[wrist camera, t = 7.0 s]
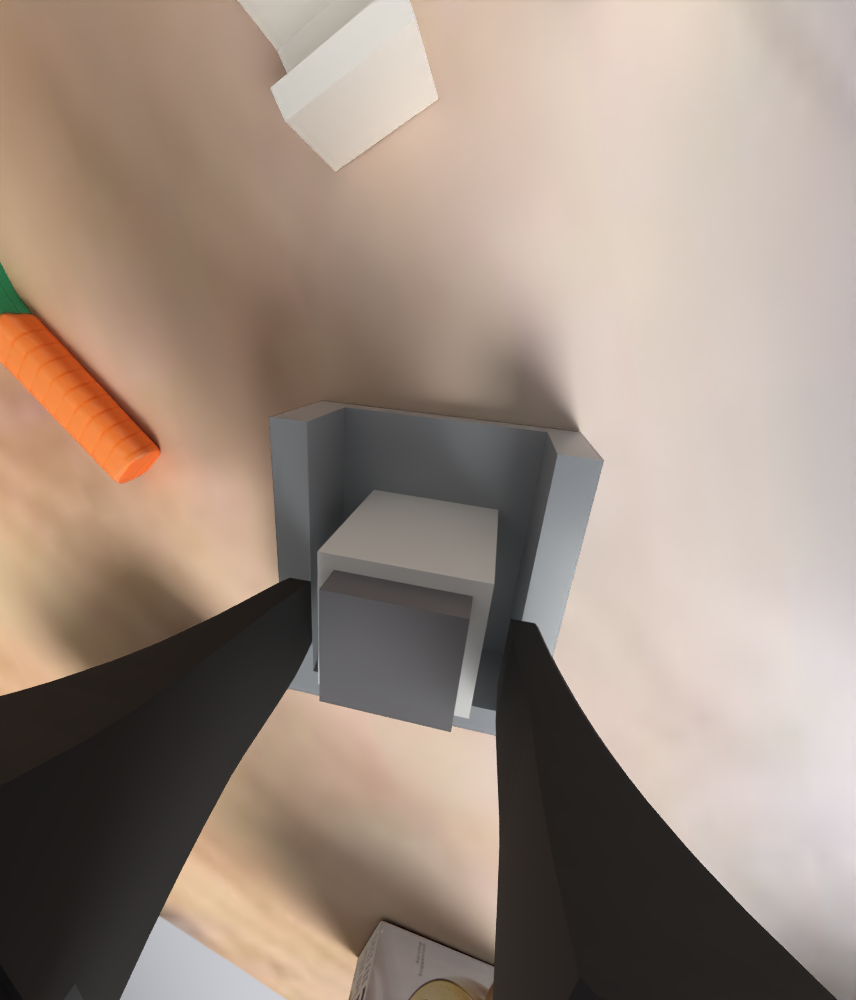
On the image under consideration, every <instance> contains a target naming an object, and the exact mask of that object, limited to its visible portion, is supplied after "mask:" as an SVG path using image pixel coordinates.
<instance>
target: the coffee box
mask: <svg viewBox="0 0 856 1000" xmlns="http://www.w3.org/2000/svg"><path fill="white" fill-rule="evenodd" d="M493 981H494V966H491V965H489V964H487V963H484V962H482V961H479V960H477V959H474V958H472V957H469V956H467V955H465V954H462V953H460V952H457V951H455V950H452V949H450V948H448V947H445V946H443V945H440V944H438V943H436V942H433V941H431V940H429V939H426V938H424V937H421V936H419V935H417V934H414V933H412V932H409V931H407V930H405V929H402V928H400V927H397V926H395V925H392V924H390V923H387V922H385V921H381V922H380V923H379V924H378V926H377V928H376V929H375V931H374V933H373V934H372V936H371V937H370V939H369V941H368V942H367V944H366V946H365V947H364V949H363V951H362V952H361V954H360V956H359V958H358V960H357V965H356V970H355V974H354V979H353V983H352V987H351V992H350V996H349V1000H493Z"/></svg>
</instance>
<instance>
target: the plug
mask: <svg viewBox="0 0 856 1000" xmlns="http://www.w3.org/2000/svg"><path fill="white" fill-rule="evenodd" d="M497 527H498V510H497V509H491V508H484V507H478V506H472V505H466V504H460V503H453V502H447V501H441V500H435V499H428V498H422V497H416V496H410V495H404V494H397V493H391V492H385V491H379V490H373V491H372V492H371V493H370V495H369V496H368V497H367V498H366V499H365V500H364V501H363V502H362V503H361V504H360V505H359V507H358V508H357V509H356V510H355V511H354V512H353V513H352V514H351V515H350V516H349V518H348V519H347V520H346V521H345V522H344V523H343V524H342V525H341V526H340V527H339V528H338V530H337V531H336V532H335V533H334V534H333V535H332V536H331V537H330V538H329V539H328V540H327V542H326V543H325V544H324V545H323V546H322V547H321V548H320V549H319V550H318V551H317V565H318V684H319V696H320V701H322V702H326V703H331V704H335V705H339V706H343V707H347V708H352V709H356V710H360V711H364V712H368V713H373V714H377V715H381V716H385V717H389V718H394V719H398V720H402V721H406V722H411V723H415V724H419V725H423V726H427V727H432V728H436V729H440V730H444V731H448V732H451V728H452V722H453V716H454V715H455V716H459V717H463V718H467V719H469V715H470V710H471V705H472V699H473V694H474V689H475V684H476V678H477V673H478V668H479V663H480V657H481V652H482V647H483V641H484V636H485V631H486V626H487V620H488V615H489V610H490V605H491V599H492V594H493V589H494V582H495V564H496V545H497Z"/></svg>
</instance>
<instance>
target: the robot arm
mask: <svg viewBox="0 0 856 1000" xmlns="http://www.w3.org/2000/svg"><path fill="white" fill-rule="evenodd" d="M311 644H312V606H311V581H306V580H301V579H295V578H288V579H286V580H283V581H281V582H279V583H277V584H275V585H273V586H272V587H270V588H268V589H266V590H264V591H262V592H260V593H258V594H257V595H255V596H253V597H251V598H249V599H247V600H245V601H243V602H241V603H240V604H238V605H236V606H234V607H232V608H230V609H228V610H226V611H224V612H222V613H221V614H219V615H217V616H215V617H212V618H210V619H208V620H206V621H204V622H202V623H200V624H198V625H196V626H194V627H192V628H190V629H187V630H185V631H183V632H181V633H179V634H177V635H175V636H173V637H170V638H168V639H166V640H164V641H161V642H159V643H157V644H154V645H152V646H150V647H147V648H145V649H142V650H139V651H137V652H134V653H132V654H129V655H127V656H124V657H122V658H119V659H116V660H114V661H111V662H108V663H105V664H102V665H99V666H96V667H93V668H90V669H87V670H85V671H82V672H79V673H76V674H73V675H70V676H67V677H64V678H61V679H58V680H55V681H52V682H48V683H45V684H42V685H38V686H35V687H31V688H28V689H25V690H21V691H18V692H14V693H10V694H7V695H3V696H0V1000H120V998H121V995H122V993H123V991H124V989H125V987H126V985H127V982H128V980H129V978H130V975H131V974H132V971H133V969H134V967H135V965H136V963H137V961H138V959H139V957H140V954H141V952H142V950H143V948H144V946H145V943H146V941H147V939H148V937H149V935H150V933H151V931H152V929H153V927H154V925H155V923H156V921H157V918H158V917H159V915H160V912H161V910H162V908H163V906H164V904H165V902H166V900H167V898H168V896H169V894H170V892H171V890H172V888H173V886H174V884H175V882H176V880H177V878H178V876H179V874H180V872H181V870H182V868H183V866H184V864H185V862H186V860H187V858H188V856H189V854H190V852H191V850H192V848H193V846H194V844H195V843H196V841H197V839H198V837H199V835H200V833H201V831H202V829H203V827H204V825H205V823H206V821H207V819H208V817H209V816H210V814H211V812H212V810H213V808H214V806H215V805H216V803H217V801H218V799H219V797H220V795H221V793H222V792H223V790H224V788H225V786H226V784H227V782H228V781H229V779H230V777H231V775H232V773H233V772H234V770H235V769H236V767H237V765H238V764H239V762H240V760H241V759H242V757H243V755H244V754H245V752H246V751H247V749H248V748H249V746H250V745H251V743H252V742H253V740H254V739H255V737H256V736H257V734H258V733H259V731H260V730H261V728H262V727H263V725H264V724H265V722H266V721H267V719H268V718H269V716H270V715H271V713H272V712H273V710H274V709H275V707H276V706H277V704H278V703H279V701H280V699H281V698H282V696H283V695H284V693H285V692H286V690H287V689H288V687H289V686H290V684H291V682H292V681H293V679H294V678H295V676H296V674H297V672H298V670H299V668H300V666H301V664H302V662H303V661H304V658H305V656H306V654H307V652H308V650H309V648H310V646H311ZM495 723H496V751H497V776H498V800H499V871H498V896H497V919H496V940H495V962H494V981H493V1000H837V999H836V998H835V997H834V996H833V995H832V994H831V993H830V992H829V991H828V990H827V989H826V988H825V987H823V986H822V985H821V984H820V983H819V982H818V981H817V980H816V979H815V978H814V977H813V976H812V975H811V974H810V973H809V972H808V971H807V970H806V969H805V968H804V967H803V966H802V965H801V964H800V963H799V962H798V961H797V960H796V959H795V958H794V957H793V956H792V955H791V954H790V953H789V952H788V951H787V950H786V949H785V948H784V947H783V946H782V945H781V944H779V943H778V942H777V941H776V940H775V939H774V938H773V937H772V936H771V935H770V934H769V933H768V932H767V931H766V930H765V929H764V928H763V927H762V926H761V925H760V924H759V923H758V922H757V921H756V920H755V919H754V918H753V917H752V916H751V915H750V914H749V913H748V912H747V911H746V910H745V909H744V908H743V907H742V906H741V905H740V904H739V903H738V902H737V901H736V900H735V899H734V898H733V896H732V895H731V894H730V893H729V892H728V891H727V890H726V889H725V888H724V887H723V886H722V885H721V884H720V883H719V882H718V881H717V880H716V878H715V877H714V876H713V875H712V874H711V873H710V872H709V871H708V870H707V869H706V868H705V867H704V866H703V865H702V864H701V863H700V861H699V860H698V859H697V858H696V857H695V856H694V855H693V854H692V853H691V851H690V850H689V849H688V848H687V847H686V846H685V845H684V843H683V842H682V841H681V840H680V839H679V838H678V836H677V835H676V834H675V833H674V832H673V831H672V829H671V828H670V827H669V826H668V825H667V824H666V822H665V821H664V820H663V819H662V818H661V817H660V815H659V814H658V813H657V812H656V811H655V810H654V808H653V807H652V806H651V805H650V804H649V803H648V801H647V800H646V799H645V798H644V796H643V795H642V794H641V793H640V791H639V790H638V789H637V787H636V786H635V785H634V784H633V782H632V781H631V780H630V779H629V777H628V776H627V775H626V773H625V772H624V771H623V769H622V768H621V766H620V765H619V764H618V762H617V761H616V760H615V758H614V757H613V756H612V754H611V753H610V751H609V750H608V749H607V747H606V746H605V744H604V743H603V741H602V740H601V738H600V737H599V735H598V734H597V732H596V731H595V729H594V728H593V726H592V725H591V723H590V722H589V720H588V719H587V717H586V715H585V714H584V712H583V711H582V709H581V707H580V706H579V704H578V702H577V701H576V699H575V697H574V696H573V694H572V692H571V690H570V689H569V687H568V685H567V683H566V682H565V680H564V678H563V676H562V675H561V673H560V671H559V669H558V667H557V665H556V663H555V661H554V659H553V657H552V656H551V654H550V652H549V649H548V647H547V645H546V643H545V641H544V639H543V637H542V634H541V632H540V630H539V628H538V626H537V625H536V624H535V623H531V622H526V621H520V620H515V619H510V624H509V629H508V634H507V639H506V643H505V648H504V653H503V658H502V663H501V668H500V673H499V678H498V688H497V703H496V719H495Z"/></svg>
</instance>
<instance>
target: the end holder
mask: <svg viewBox="0 0 856 1000" xmlns="http://www.w3.org/2000/svg"><path fill="white" fill-rule="evenodd" d="M269 424H270V441H271V457H272V474H273V490H274V506H275V523H276V539H277V556H278V572H279V582H281V581H283V580H286V579H288V578H295V579H301V580H306V581H311V606H312V644H311V646H310V648H309V650H308V652H307V654H306V656H305V658H304V661H303V662H302V664H301V666H300V668H299V670H298V672H297V674H296V676H295V678H294V679H293V681H292V682H291V684H290V686H289V687H288V689H292V690H297V691H301V692H305V693H310V694H314V695H319V684H318V565H317V551H318V550H319V549H320V548H321V547H322V546H323V545H324V544H325V543H326V542H327V540H328V539H329V538H330V537H331V536H332V535H333V534H334V533H335V532H336V531H337V530H338V528H339V527H340V526H341V525H342V524H343V523H344V522H345V521H346V520H347V519H348V518H349V516H350V515H351V514H352V513H353V512H354V511H355V510H356V509H357V508H358V507H359V505H360V504H361V503H362V502H363V501H364V500H365V499H366V498H367V497H368V496H369V495H370V493H371V492H372V491H373V490H379V491H385V492H391V493H397V494H404V495H410V496H416V497H422V498H428V499H435V500H441V501H447V502H453V503H460V504H466V505H472V506H478V507H484V508H491V509H497V510H498V527H497V545H496V564H495V582H494V589H493V594H492V599H491V605H490V610H489V615H488V620H487V626H486V631H485V636H484V641H483V647H482V652H481V657H480V663H479V668H478V673H477V678H476V684H475V689H474V694H473V699H472V705H471V710H470V715H469V719H467V718H463V717H459V716H455V715H454V716H453V722H452V726H455V727H459V728H464V729H468V730H473V731H477V732H481V733H486V734H490V735H495V736H496V723H495V719H496V703H497V688H498V678H499V673H500V668H501V663H502V658H503V653H504V648H505V643H506V639H507V634H508V629H509V624H510V619H515V620H520V621H526V622H531V623H535V624H536V625H537V626H538V628H539V630H540V632H541V634H542V637H543V639H544V641H545V643H546V645H547V647H548V649H549V652H550V654H551V656H552V657H553V653H554V649H555V645H556V642H557V638H558V634H559V630H560V626H561V623H562V619H563V615H564V611H565V607H566V603H567V600H568V596H569V592H570V588H571V584H572V581H573V577H574V573H575V569H576V565H577V561H578V558H579V554H580V550H581V546H582V542H583V539H584V535H585V531H586V527H587V523H588V519H589V516H590V512H591V508H592V504H593V500H594V496H595V493H596V489H597V485H598V481H599V477H600V474H601V470H602V466H603V462H604V460H603V459H602V457H601V456H600V455H599V454H598V453H597V451H596V450H595V449H594V448H593V446H592V445H591V444H590V443H589V442H588V440H587V439H586V438H585V437H584V436H583V434H582V433H581V432H575V431H567V430H559V429H551V428H542V427H534V426H526V425H518V424H509V423H501V422H493V421H485V420H476V419H468V418H460V417H452V416H443V415H435V414H427V413H419V412H410V411H402V410H394V409H386V408H377V407H369V406H361V405H353V404H344V403H336V402H328V401H320V402H316V403H313V404H310V405H306V406H303V407H300V408H297V409H293V410H290V411H287V412H284V413H280V414H277V415H274V416H271V417H269Z"/></svg>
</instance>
